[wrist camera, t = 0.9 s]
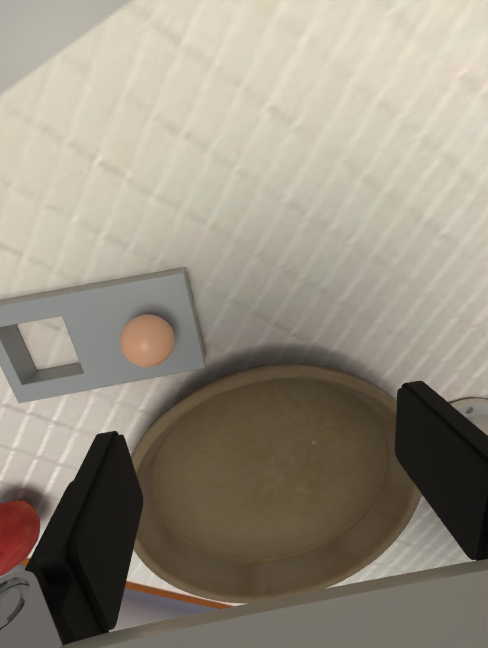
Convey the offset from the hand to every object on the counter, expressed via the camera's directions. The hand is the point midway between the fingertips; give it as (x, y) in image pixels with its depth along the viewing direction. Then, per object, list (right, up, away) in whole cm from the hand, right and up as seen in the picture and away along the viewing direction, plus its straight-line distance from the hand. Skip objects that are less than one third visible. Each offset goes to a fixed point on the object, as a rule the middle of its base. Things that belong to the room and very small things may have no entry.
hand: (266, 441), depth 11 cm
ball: (-8, +3, +14) cm, 16 cm away
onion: (-24, -15, +24) cm, 37 cm away
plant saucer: (+2, -13, +26) cm, 29 cm away
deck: (-13, +3, +18) cm, 22 cm away
